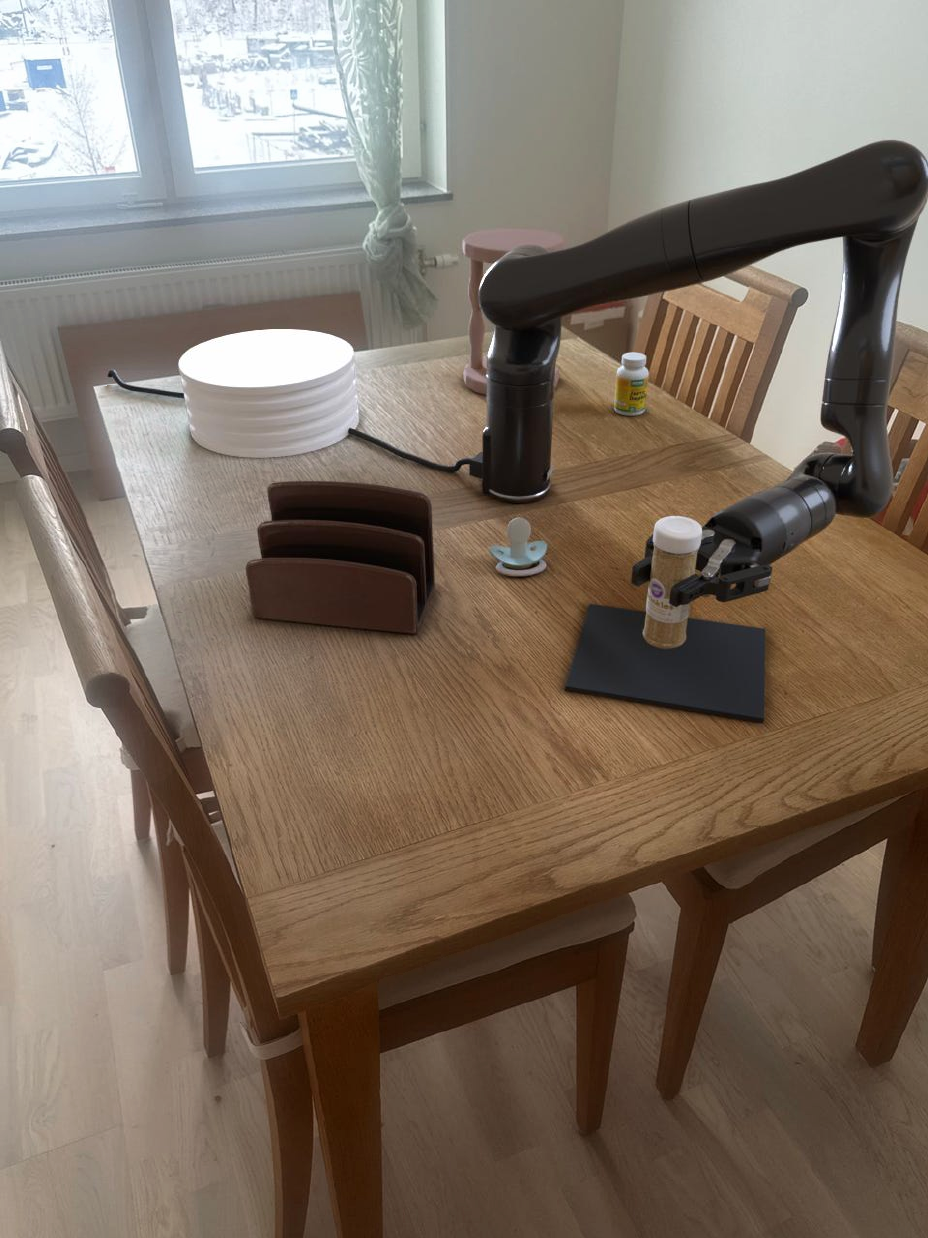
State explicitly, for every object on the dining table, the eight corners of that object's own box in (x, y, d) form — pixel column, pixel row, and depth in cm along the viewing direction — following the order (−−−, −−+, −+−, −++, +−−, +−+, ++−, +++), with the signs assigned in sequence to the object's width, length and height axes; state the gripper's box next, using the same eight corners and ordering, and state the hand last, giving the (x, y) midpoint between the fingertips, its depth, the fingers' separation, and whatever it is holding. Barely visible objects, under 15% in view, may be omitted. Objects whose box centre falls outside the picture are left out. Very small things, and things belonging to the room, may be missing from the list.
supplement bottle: (630, 402, 161) (635, 348, 156) (651, 412, 158) (657, 357, 152) (607, 409, 159) (611, 354, 153) (627, 419, 155) (633, 363, 150)
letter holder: (281, 575, 115) (267, 472, 107) (436, 589, 112) (433, 485, 104) (252, 619, 107) (233, 512, 99) (417, 637, 104) (412, 527, 96)
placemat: (564, 690, 96) (565, 685, 96) (589, 607, 109) (589, 603, 108) (763, 723, 91) (764, 718, 91) (764, 632, 104) (765, 628, 104)
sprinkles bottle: (634, 640, 96) (645, 527, 88) (656, 620, 99) (669, 509, 91) (672, 656, 94) (688, 541, 86) (694, 635, 96) (711, 523, 89)
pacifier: (553, 576, 115) (541, 551, 119) (556, 533, 111) (544, 509, 116) (495, 582, 114) (486, 556, 118) (496, 539, 110) (487, 514, 115)
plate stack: (160, 421, 156) (147, 355, 150) (298, 380, 172) (291, 319, 165) (247, 474, 139) (236, 401, 132) (392, 423, 154) (388, 356, 148)
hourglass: (571, 372, 174) (579, 232, 160) (539, 404, 161) (545, 254, 147) (485, 360, 180) (486, 224, 166) (448, 389, 167) (445, 245, 153)
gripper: (709, 477, 102) (602, 527, 93) (824, 524, 93) (717, 585, 84) (701, 536, 106) (598, 589, 97) (809, 586, 97) (706, 650, 88)
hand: (654, 587), depth 91 cm, fingers closed on sprinkles bottle, 4 cm apart
